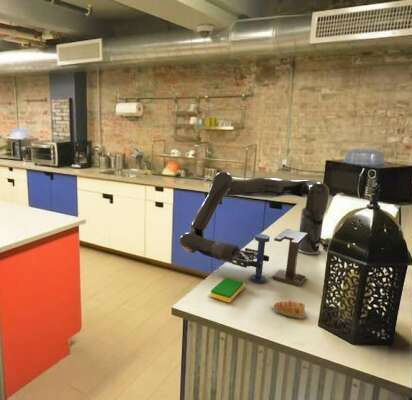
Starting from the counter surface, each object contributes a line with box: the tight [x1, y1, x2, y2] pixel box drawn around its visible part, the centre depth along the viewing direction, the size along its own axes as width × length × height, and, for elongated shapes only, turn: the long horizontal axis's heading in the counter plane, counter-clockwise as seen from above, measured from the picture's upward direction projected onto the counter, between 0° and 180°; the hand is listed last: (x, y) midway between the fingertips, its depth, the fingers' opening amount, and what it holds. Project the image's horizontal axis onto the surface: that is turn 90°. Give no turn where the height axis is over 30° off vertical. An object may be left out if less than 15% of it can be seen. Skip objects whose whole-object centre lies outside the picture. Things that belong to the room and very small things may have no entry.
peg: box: [250, 233, 271, 284], centre depth 142 cm, size 6×6×18 cm
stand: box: [272, 228, 308, 287], centre depth 140 cm, size 15×10×19 cm, turn 141°
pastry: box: [272, 300, 306, 320], centre depth 121 cm, size 9×7×4 cm
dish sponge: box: [210, 277, 245, 303], centre depth 134 cm, size 7×14×2 cm, turn 143°
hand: (265, 262), depth 141 cm, fingers open, 8 cm apart
